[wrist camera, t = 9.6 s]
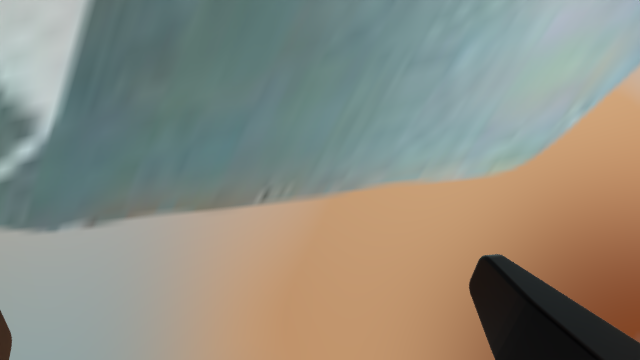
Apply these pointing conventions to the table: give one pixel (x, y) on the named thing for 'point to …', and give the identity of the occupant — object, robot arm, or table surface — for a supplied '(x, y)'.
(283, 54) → the table surface
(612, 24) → the table surface
